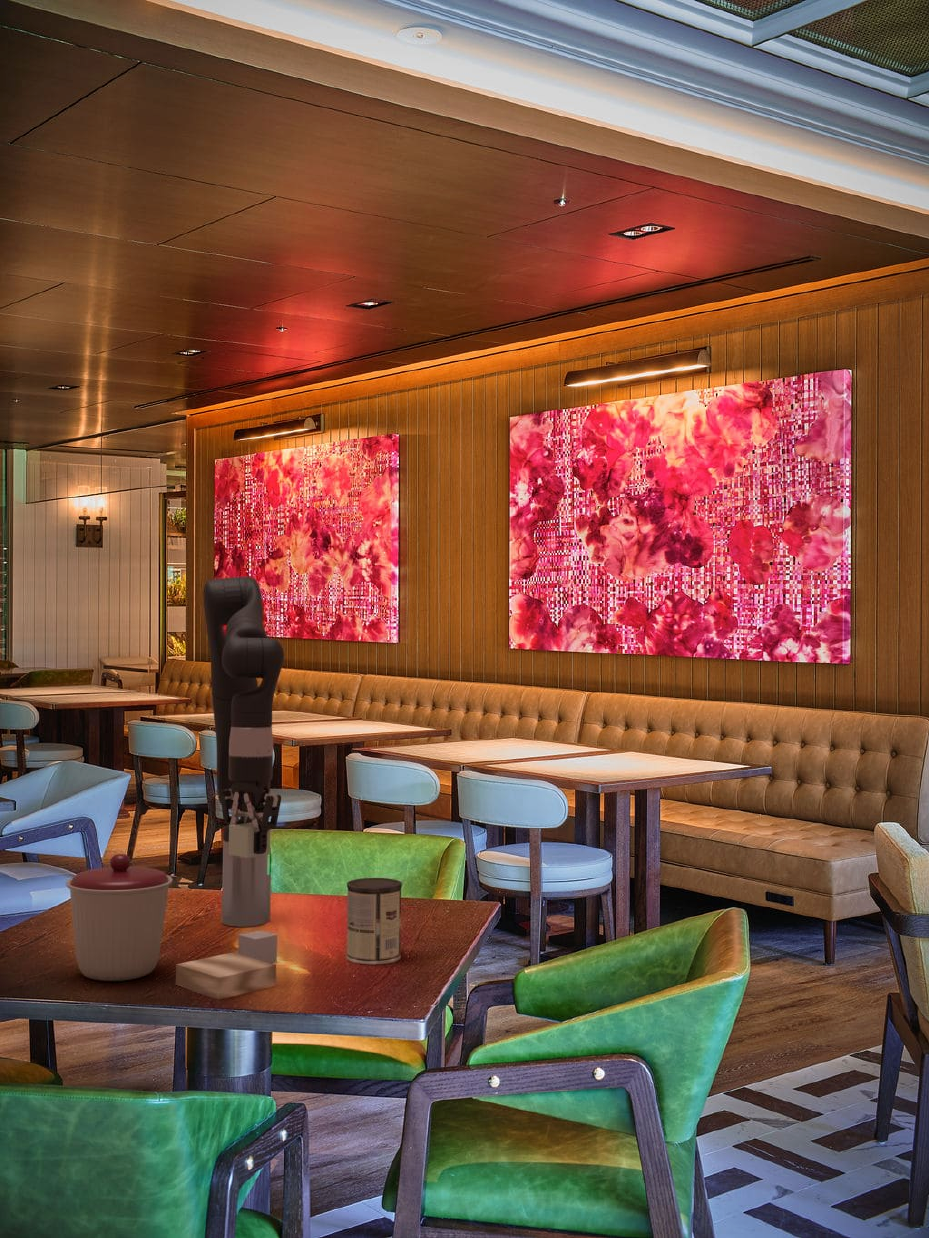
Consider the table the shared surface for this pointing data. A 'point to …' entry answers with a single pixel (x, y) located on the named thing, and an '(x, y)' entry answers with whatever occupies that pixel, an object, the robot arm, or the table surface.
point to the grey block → (258, 946)
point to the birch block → (225, 975)
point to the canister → (118, 919)
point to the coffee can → (373, 920)
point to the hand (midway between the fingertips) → (249, 851)
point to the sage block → (244, 840)
